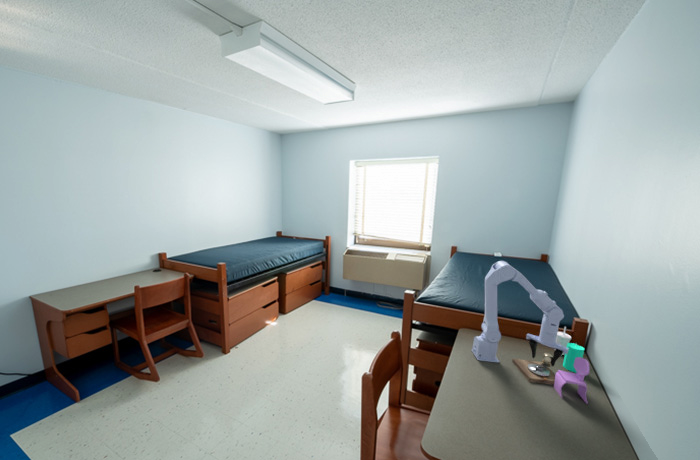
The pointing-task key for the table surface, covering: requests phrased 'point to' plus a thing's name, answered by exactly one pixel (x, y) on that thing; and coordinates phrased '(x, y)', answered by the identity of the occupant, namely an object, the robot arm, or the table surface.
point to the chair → (574, 377)
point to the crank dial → (542, 366)
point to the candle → (572, 356)
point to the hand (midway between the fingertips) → (543, 361)
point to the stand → (532, 377)
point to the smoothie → (563, 339)
